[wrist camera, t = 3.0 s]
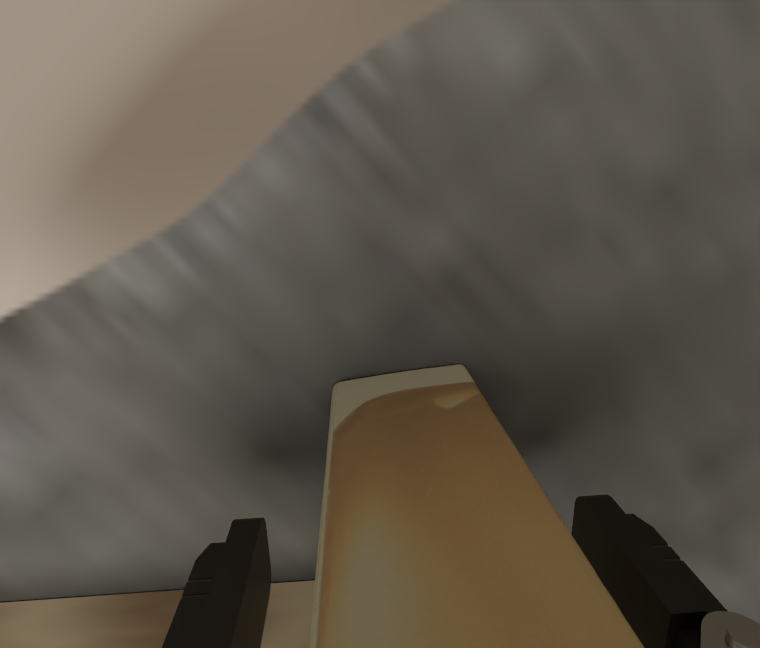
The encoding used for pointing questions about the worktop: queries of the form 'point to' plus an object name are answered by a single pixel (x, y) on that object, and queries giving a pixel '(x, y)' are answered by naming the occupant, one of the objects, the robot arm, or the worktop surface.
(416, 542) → the skincare box
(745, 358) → the worktop surface
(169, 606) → the walled box
